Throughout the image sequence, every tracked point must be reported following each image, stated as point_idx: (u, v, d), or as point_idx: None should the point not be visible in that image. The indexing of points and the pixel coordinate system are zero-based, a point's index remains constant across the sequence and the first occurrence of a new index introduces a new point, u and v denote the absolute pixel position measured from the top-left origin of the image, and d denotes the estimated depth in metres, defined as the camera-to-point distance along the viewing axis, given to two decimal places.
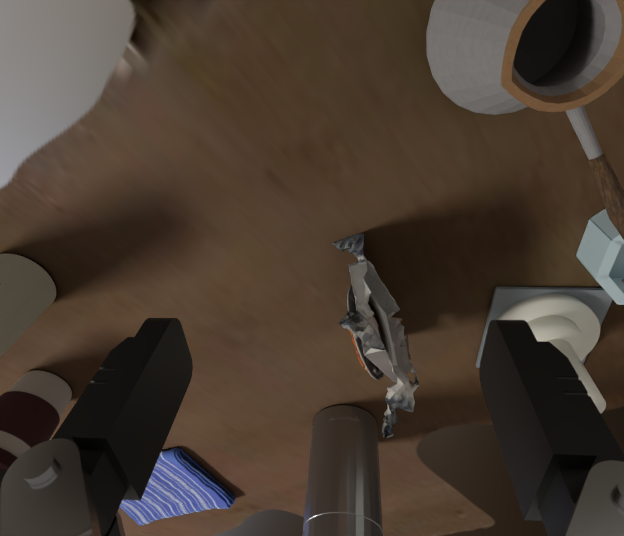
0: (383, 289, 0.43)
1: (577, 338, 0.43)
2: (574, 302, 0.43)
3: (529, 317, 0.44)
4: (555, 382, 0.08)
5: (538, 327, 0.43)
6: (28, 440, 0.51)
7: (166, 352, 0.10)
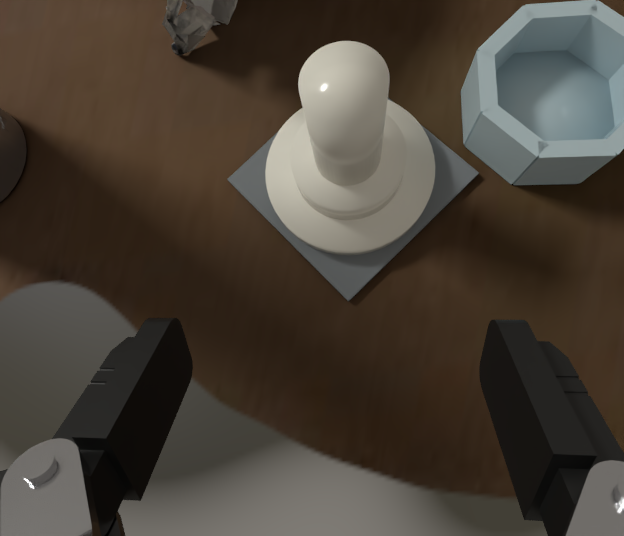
0: None
1: (396, 150, 0.25)
2: (423, 130, 0.27)
3: None
4: (555, 382, 0.08)
5: None
6: None
7: (166, 352, 0.10)
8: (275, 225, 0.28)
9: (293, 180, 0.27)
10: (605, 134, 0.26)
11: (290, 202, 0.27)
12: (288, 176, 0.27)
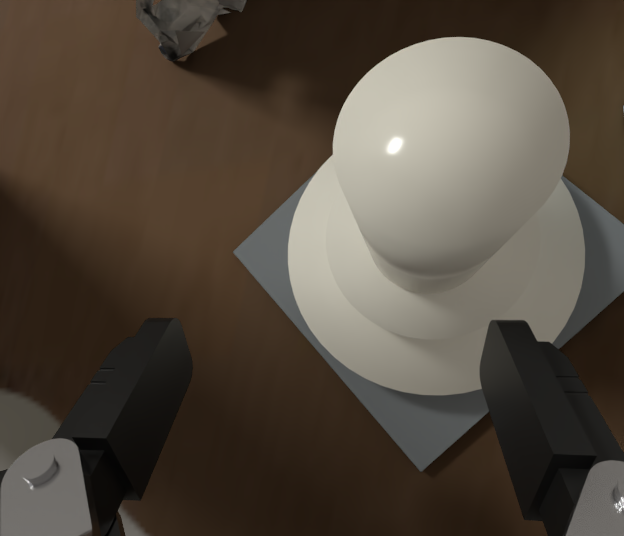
0: None
1: (519, 230, 0.13)
2: (560, 181, 0.15)
3: None
4: (555, 382, 0.08)
5: None
6: None
7: (166, 352, 0.10)
8: (303, 330, 0.18)
9: None
10: None
11: (327, 301, 0.17)
12: (325, 257, 0.17)
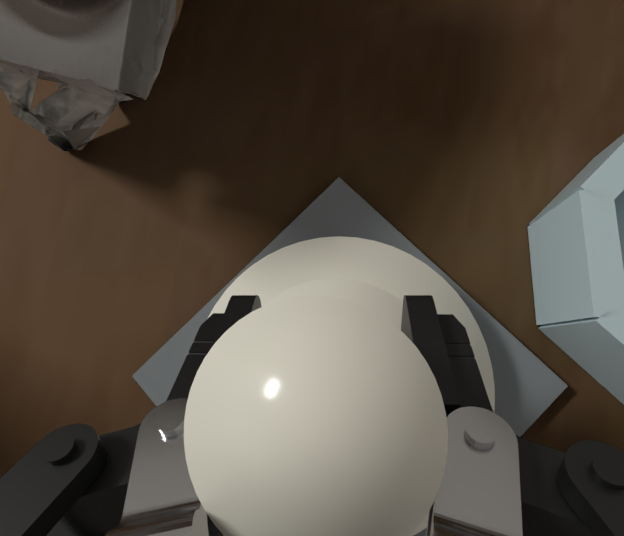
0: None
1: None
2: (469, 313, 0.15)
3: (352, 276, 0.16)
4: (442, 346, 0.09)
5: None
6: None
7: None
8: None
9: None
10: None
11: None
12: None
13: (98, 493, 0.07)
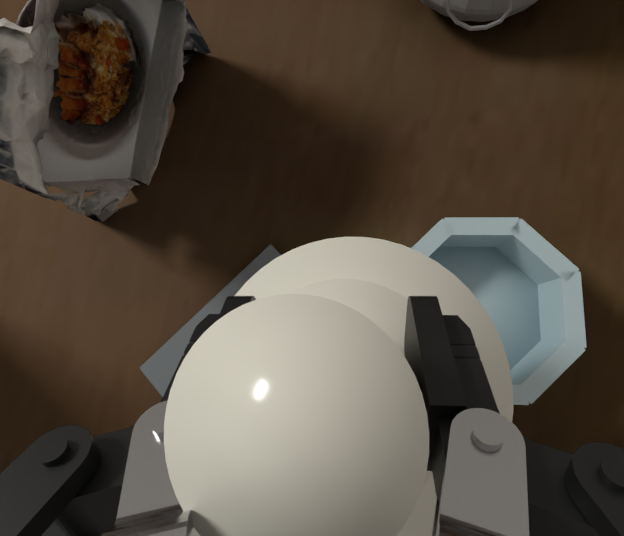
0: (161, 104, 0.29)
1: None
2: (484, 311, 0.15)
3: (360, 277, 0.15)
4: (448, 347, 0.09)
5: None
6: None
7: None
8: None
9: None
10: (530, 348, 0.25)
11: None
12: None
13: (92, 494, 0.07)
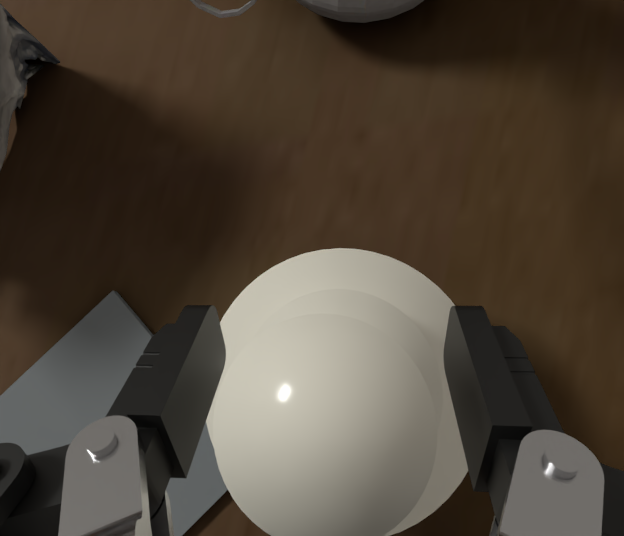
0: None
1: None
2: None
3: (352, 286, 0.17)
4: (503, 362, 0.09)
5: None
6: None
7: (205, 338, 0.10)
8: None
9: None
10: None
11: None
12: None
13: (31, 507, 0.07)
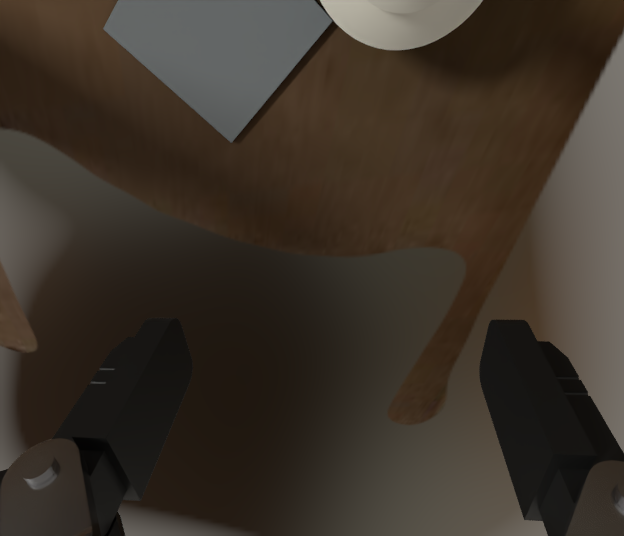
0: None
1: None
2: None
3: None
4: (555, 382, 0.08)
5: None
6: None
7: (166, 352, 0.10)
8: (160, 78, 0.32)
9: None
10: None
11: None
12: None
13: None
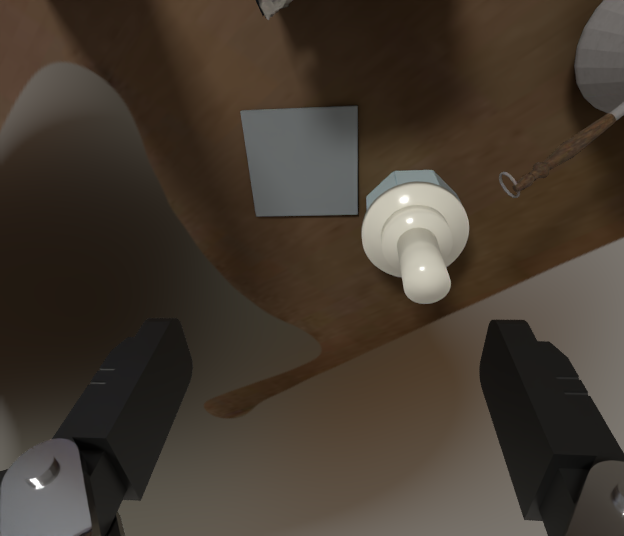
0: None
1: None
2: (463, 247, 0.44)
3: (447, 214, 0.42)
4: (556, 383, 0.08)
5: (447, 224, 0.41)
6: None
7: (166, 352, 0.10)
8: (248, 158, 0.45)
9: (385, 218, 0.43)
10: None
11: (374, 227, 0.43)
12: (385, 215, 0.43)
13: None
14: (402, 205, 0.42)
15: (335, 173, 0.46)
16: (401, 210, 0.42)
